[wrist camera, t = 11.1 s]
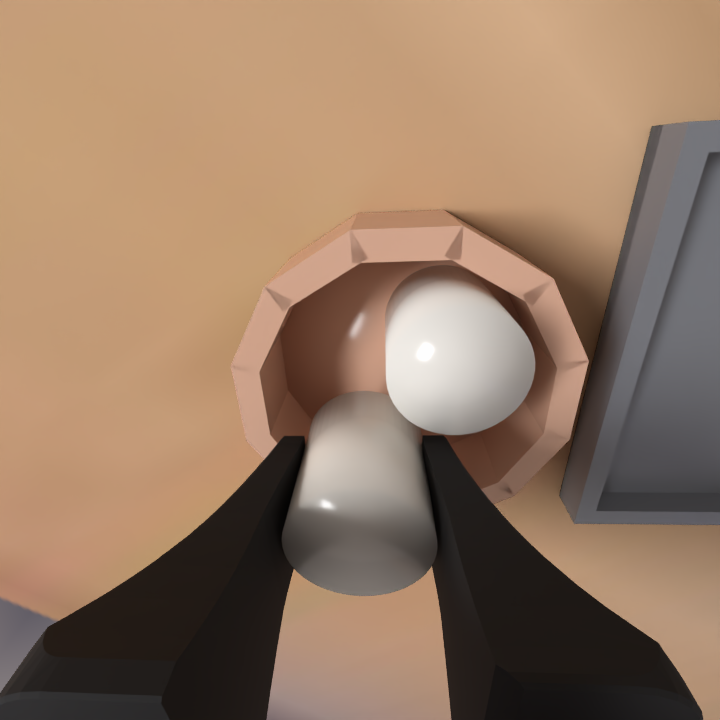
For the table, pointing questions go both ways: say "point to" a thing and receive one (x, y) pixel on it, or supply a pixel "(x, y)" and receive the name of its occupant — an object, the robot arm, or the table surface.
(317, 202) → the table surface
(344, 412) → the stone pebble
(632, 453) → the parts tray
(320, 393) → the bowl
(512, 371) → the white egg
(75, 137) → the table surface
